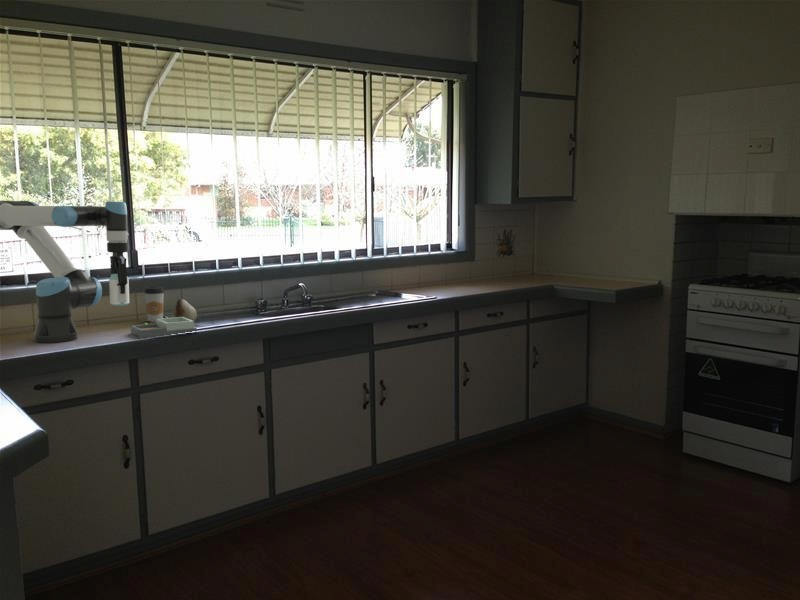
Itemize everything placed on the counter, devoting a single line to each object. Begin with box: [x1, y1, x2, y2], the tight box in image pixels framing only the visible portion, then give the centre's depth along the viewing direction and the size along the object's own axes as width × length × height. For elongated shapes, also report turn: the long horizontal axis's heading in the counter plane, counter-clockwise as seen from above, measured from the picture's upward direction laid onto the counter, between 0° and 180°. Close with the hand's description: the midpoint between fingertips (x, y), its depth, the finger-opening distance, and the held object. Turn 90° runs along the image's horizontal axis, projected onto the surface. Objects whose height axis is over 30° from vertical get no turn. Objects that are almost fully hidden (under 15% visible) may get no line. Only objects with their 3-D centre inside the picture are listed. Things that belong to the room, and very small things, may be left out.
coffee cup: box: [144, 286, 165, 323], centre depth 315 cm, size 8×8×15 cm
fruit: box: [173, 297, 198, 322], centre depth 304 cm, size 10×9×12 cm
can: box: [108, 273, 130, 307], centre depth 274 cm, size 7×7×12 cm
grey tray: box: [130, 317, 198, 339], centre depth 284 cm, size 22×14×5 cm, turn 126°
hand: (119, 300), depth 275 cm, fingers closed on can, 7 cm apart
